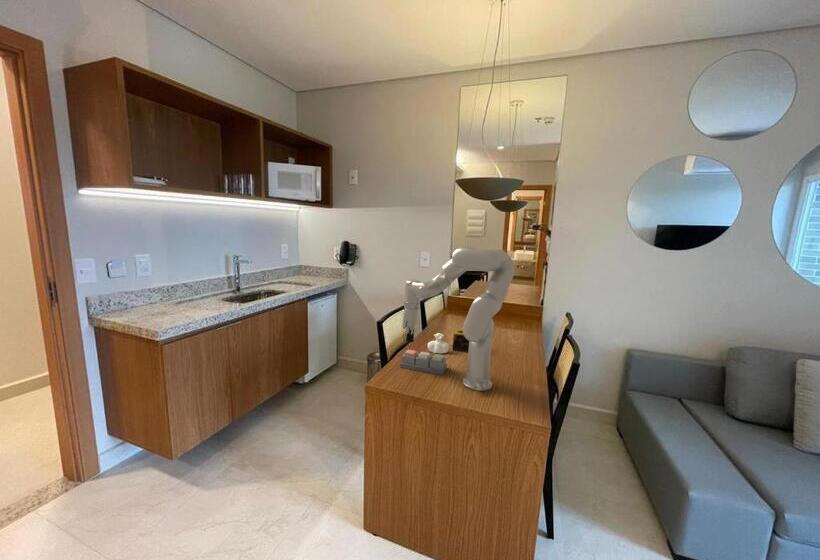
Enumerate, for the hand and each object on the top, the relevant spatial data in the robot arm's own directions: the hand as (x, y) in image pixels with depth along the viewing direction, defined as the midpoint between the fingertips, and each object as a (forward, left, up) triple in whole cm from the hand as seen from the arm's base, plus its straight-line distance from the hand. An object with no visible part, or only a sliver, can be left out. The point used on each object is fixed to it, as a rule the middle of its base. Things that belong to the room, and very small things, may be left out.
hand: (409, 341), depth 163 cm
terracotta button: (0, -1, -8) cm, 8 cm away
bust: (+19, -16, -12) cm, 28 cm away
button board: (-3, -7, -12) cm, 14 cm away
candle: (+25, -30, -12) cm, 41 cm away
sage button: (-5, -14, -8) cm, 17 cm away
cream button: (-3, -7, -8) cm, 11 cm away
